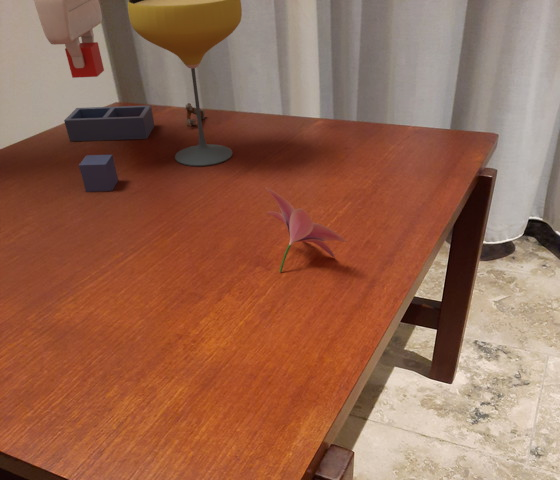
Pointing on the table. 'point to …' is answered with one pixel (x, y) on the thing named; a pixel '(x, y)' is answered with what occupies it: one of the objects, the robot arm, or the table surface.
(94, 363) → the table surface
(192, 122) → the brown lumpy upright piece
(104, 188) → the blue block
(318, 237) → the lily
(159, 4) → the cocktail glass
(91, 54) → the red block
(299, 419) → the table surface
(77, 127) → the tray
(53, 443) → the table surface
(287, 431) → the table surface
